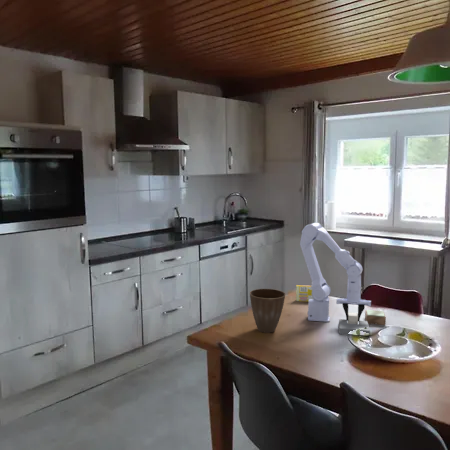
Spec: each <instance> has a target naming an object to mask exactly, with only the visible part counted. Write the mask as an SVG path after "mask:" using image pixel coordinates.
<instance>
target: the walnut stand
mask: <svg viewBox="0 0 450 450" xmlns="http://www.w3.org/2000/svg"><path fill="white" fill-rule="evenodd" d="M364 310H365V309H364ZM364 314H365V315H364V319H365V320H364V321H368V325H378V326H379V325H380V326H386V323H387V322H386V319H387V316H386V314H385V312H384V310H373V309H366V310H365V311H364Z"/></svg>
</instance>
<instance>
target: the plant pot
mask: <svg viewBox="0 0 450 450" xmlns="http://www.w3.org/2000/svg"><path fill="white" fill-rule="evenodd" d="M249 297H250V304H251V305H250V306H251V311H252V315H253V319H254V323H255V325H256V328H257V330H258V331H259V332H261V333H267V334H269V333H274V332H275V331H276V329H277V326H278V324H279V321H280V319H281V315H282V313H283V309H284V304H285V299H286V293H285V292H284V291H282V290H279V289H275V288H257V289H253V290H250V291H249Z"/></svg>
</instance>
